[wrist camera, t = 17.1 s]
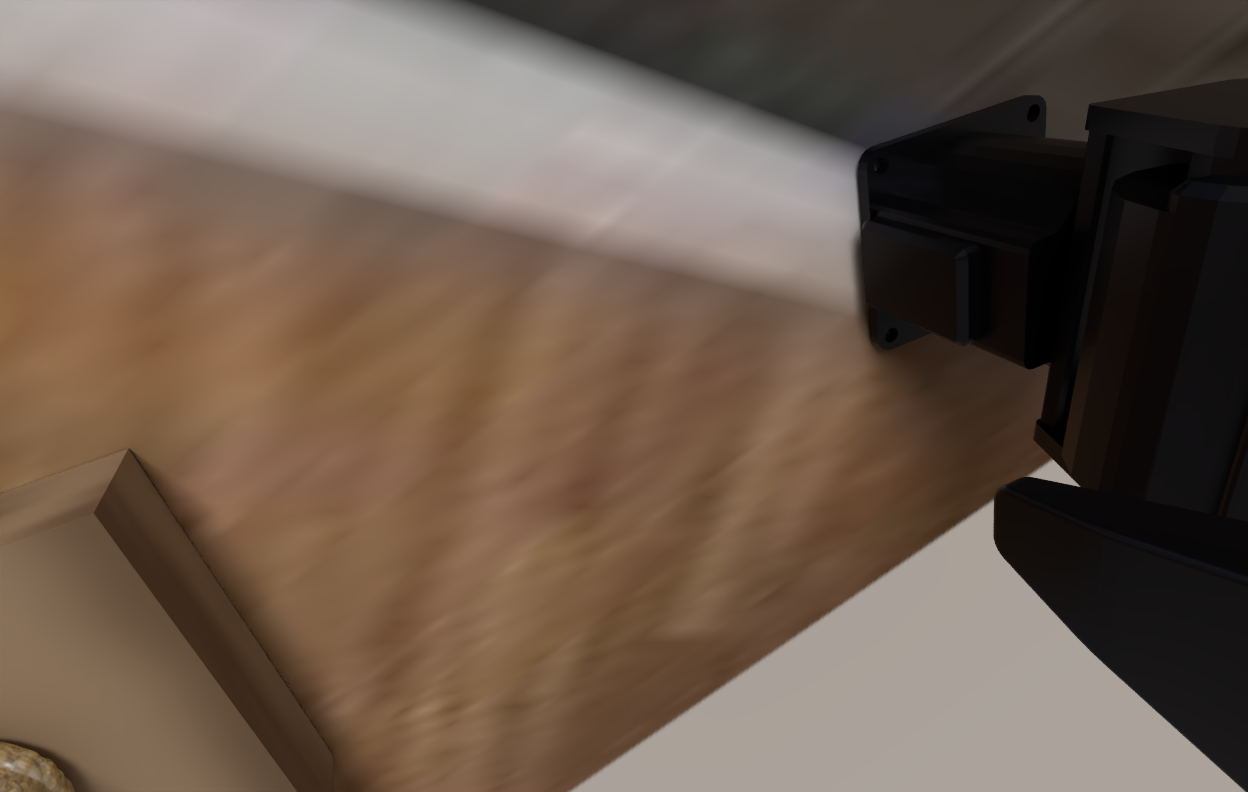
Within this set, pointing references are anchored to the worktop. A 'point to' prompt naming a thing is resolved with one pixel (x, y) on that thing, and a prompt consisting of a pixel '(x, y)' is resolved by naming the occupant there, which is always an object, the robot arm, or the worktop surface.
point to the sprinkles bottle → (29, 772)
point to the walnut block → (135, 649)
